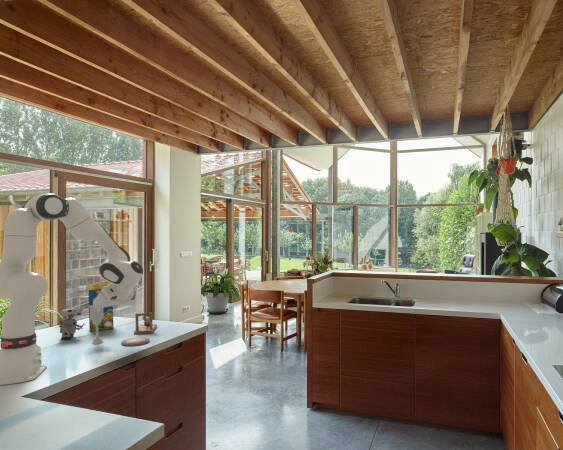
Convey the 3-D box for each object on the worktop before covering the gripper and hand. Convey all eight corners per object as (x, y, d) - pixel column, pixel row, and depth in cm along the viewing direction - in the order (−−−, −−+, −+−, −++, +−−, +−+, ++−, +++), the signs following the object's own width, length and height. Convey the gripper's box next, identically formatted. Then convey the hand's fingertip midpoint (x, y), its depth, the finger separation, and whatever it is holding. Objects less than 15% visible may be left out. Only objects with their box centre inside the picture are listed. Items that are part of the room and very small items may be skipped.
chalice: (99, 344, 206) (98, 307, 206) (86, 344, 207) (85, 307, 207) (108, 340, 213) (107, 304, 213) (95, 340, 214) (95, 304, 214)
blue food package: (89, 329, 239) (88, 284, 239) (112, 326, 245) (111, 282, 245) (89, 331, 234) (88, 285, 234) (113, 328, 239) (112, 283, 239)
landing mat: (151, 344, 205) (150, 342, 205) (121, 347, 200) (121, 345, 200) (148, 337, 217) (148, 336, 217) (120, 341, 212) (120, 339, 212)
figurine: (82, 338, 219) (82, 309, 219) (57, 340, 216) (57, 310, 216) (85, 334, 228) (85, 306, 228) (61, 336, 225) (61, 307, 225)
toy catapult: (140, 327, 241) (139, 309, 241) (156, 326, 242) (156, 308, 242) (134, 334, 225) (133, 315, 225) (151, 333, 226) (151, 314, 226)
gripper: (133, 282, 213) (120, 301, 217) (99, 288, 195) (85, 308, 199) (140, 291, 211) (126, 310, 215) (106, 298, 193) (92, 318, 197)
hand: (106, 309), depth 207 cm, fingers open, 8 cm apart
